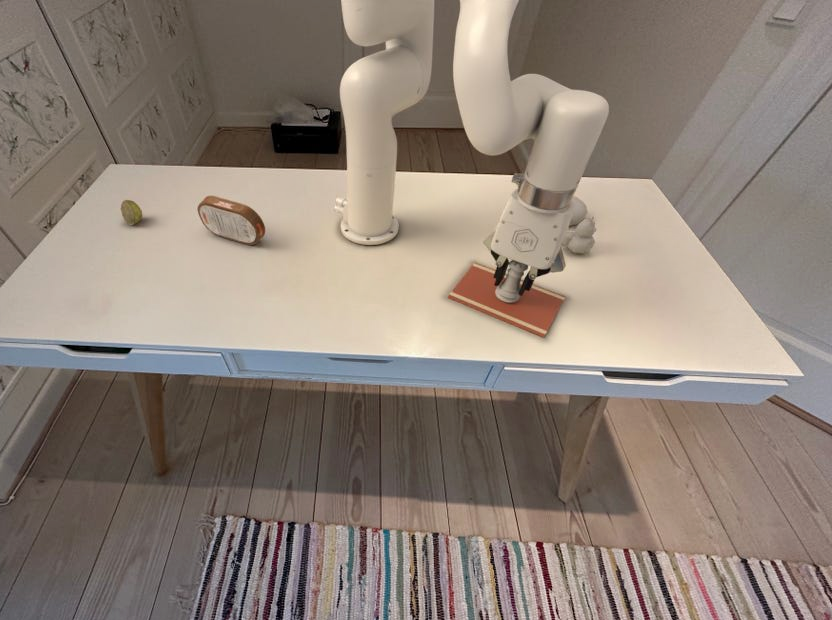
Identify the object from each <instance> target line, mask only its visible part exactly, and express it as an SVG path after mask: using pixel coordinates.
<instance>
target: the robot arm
mask: <svg viewBox="0 0 832 620" xmlns="http://www.w3.org/2000/svg"><path fill="white" fill-rule="evenodd" d="M519 1H520V0H459V13H458V14H459V15H458V19H457V23H456V29H455V37H454V38H455V39H454V50H453V62H452V63H453V65H452V70H453V71H452V77H453V86H454V92H455V97H456V101H457V105H458V106H457V107H458V110H459V115H460V118H461V122H462V125H463V129H464V131H465V134H466V136H467V139H468V140H469V142H470V143H471V145H472V147H473V148H474V149H475V150H476V151H477V152H480V153H481V154H484V155H486V156H498V155H499V156H500V155H502V154H505V153H507V152H508V151H511V150H512V149H513V148H515V147H517V146H518V145H519V144H521V143H522V142H523V141H525V140H530V139H532V140H533V141H534V142H533V145H532V147H531V148H532V149H531V151H530V154H529V157H528V161H527V163H526V167H525V170H524V172H522V173H521V172H520V173H517V172H514V174H513V176H512V178H511V183H513V184H515V185H516V186H517V188H516V189H514V191H513V192H512V193H511V195H510V197H509V198H508V199H507V203H506V205H505V207H504V208H503V211H502V214H501V215H500V218H499V221H498V224H497V226H496V229H495V230H494V231H492V232H491V233H490V234H488V235H487V236H486V237H485V238H484V239H483V240H482V244H483V246H484V247H485V248H486V249H487V250H488V251H489V252H490V254H491V256H492V257H493V259H494V261H495V267H496V268H495V270H496V271H495V274H494V277H493V278H496V281H495V284H494V286H499V284H500V283H501V281H502V280H503V279H504V276H505V274H507V272H508V269H509V268H508V267H509V262H510V260H515V261H518V262H520V263H523V264H526V265H528V267H530V268H529V271H528V272H527V273H526V275H525V276H524V279H523V283H522V286H521V288H520V291H519V293H518V294H519V295H520V296H522V295H523V294H524V292H525V290H527V291H529V290H530V289H531V287H532V285H533V284H534V283H535V280H536V279H537V278H539V277H542V276H545V275H548V274H550V273H552V274H554V273H561V272H564V270H565V268H566V266H567V265H566V261H565V256H564V252H563V248H562V247H563V245H562V244H563V242H564V239H565V236H566V234H567V232H569V231H568V230H569V228H570V226H569V225H570V221H571V218H572V213H573V208H574V203H573V201H572V199H573V196H574V197H575V194H576V192H577V189H578V187H579V184H580V182H581V180H582V177H583V175H584V173H585V170H586V168H587V166H588V163H589V162H590V160H591V156H592V154H593V152H594V149H595V147H596V145H597V143H598V140H599V138H600V136H601V134H602V131H603V128H604V127H605V124H606V122H607V119H608V116H609V113H610V111H609V110H610V105H609V103H608V101H607V99H606V98H604V97H603V95H600V94H597V93H595V92H592V91H589V90H583V89H571V88H569V87H567V86H565V85H562V84H560V83H559V82H557V81H555V80H553V79H551V78H549V77H547V76H544V75H542V74H538V73H526V74H522V75H520V76H518V77H516V78H515V79H513V80H512V79H511V74H510V68H509V58H508V57H509V56H508V45H509V43H508V42H509V34H510V28H511V24H512V19H513V16H514V14H515V11H516V8H517V6H518V3H519ZM340 2H341V4H340V5H341V14H342V21H343V25H344V29H345V32H346V35H347V37H348V38H349V39H350V41H351V42H352V43H353V44H355V45H357V46H359V47H371V46H372V47H373V46H376V45H380V44H383V43H385V49H384V50H380V51H377V52H374V53H372V54H369V55H366V56H364V57H361V58H359V59H358V60H356V61H355V62H353V63H352V64H351V65H350V66H349V67H347V69H346V70H345V71H344V73H343V75H342V77H341V80H340V84H339V101H340V106H341V111H342V115H343V121H344V122H343V123H344V127H345V128H344V129H345V144H346V145H345V147H346V196H347V198H343V197H341V196H338V197H337V198H336V199H335V206H334V207H333V211H334V212H336V213H339V214H341V215H342V216H343V217H342V219H341V221H340V232H341V234H342V235H343V237H345V238H346V239H347V240H349V241H350V242H352V243H355V244H359V245H365V246H376V245H381V244H385V243H387V242H390V241H391V240H393V239H394V238H395V237H396V236H397V234H398V232H399V227H400V226H399V225H400V224H399V221H398V218H397V217H396V216H395V215H393V210H394V199H395V186H396V173H397V159H398V139H397V135H396V132H395V129H394V126H393V117H394V116H395V115H397V114H399V113H400V112H403V111H405V110H407V109H409V108H410V107H413V106H415V105H416V104H417V103H419V102H420V101H421V100H423V98H424V96H425V95H426V94H427V92H428V90H429V86H430V84H431V83H430V82H431V79H432V69H433V50H434V49H433V47H434V28H435V27H434V26H435V25H434V22H435V0H340Z"/></svg>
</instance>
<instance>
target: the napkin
mask: <svg viewBox="0 0 832 620" xmlns="http://www.w3.org/2000/svg"><path fill="white" fill-rule="evenodd" d="M495 271H496V269H493V268H491V267H489V266H486V265H483V264H480V263H477V262H473V263H472V265H471V266H470V268H469V269H468V270H467V271H466V273H465V274H464V275H463V276H462V277H461V279H460V281H459V282H458V283H456V285H455V287H454V288H453V289H452V290H451V291H450V292H449V294H448V295H447V298H448V299H450V300H453V301H455V302H456V303H459V304H462V305H464V306H466V307H469V308H470V309H471V308H472V309H473V310H477V311H479V312H481V313H483V314H486V315H488V316H490V317H492V318H495V319H498V320H500V321H501V322H505V323H507V324H509V325H512V326H514V327H516V328H519V329H521V330H524V331H526V332H528V333H530V334H533V335H536V336H538V337H540V338H542V339H544V338H545V337H546V335H547V333H548V331H549V330H550V327H551V326H552V323H553V321H554V320H555V318H556V316H557V313H558V312H559V310H560V308H561V307H562V305H563V302H564V301H565V299H566V296H565V295H563V294H560V293H557V292H555V291H552V290H550V289H547V288H544V287H542V286H539V285H537V284H534V283H533V285H532V287H531V289H530V290H529V291H527V290H525V292H524V294H523V295H522V296H520V298H519V300H517V301H516V302H513V303H505V302H502V301H501V300H499V299H498V298H497V296H496V293H495V291H496V289H497V287H498V286H494V284H495V281H496V278H493V277H494V274H495ZM507 274H508V273H506V274H505V276H504V279H503V280H502V281H504V280H505V278H506V276H507ZM502 281H501V283H502ZM523 281H524V279H521V281H520V287H521V286H522V283H523Z"/></svg>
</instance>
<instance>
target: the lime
mask: <svg viewBox="0 0 832 620" xmlns="http://www.w3.org/2000/svg"><path fill="white" fill-rule="evenodd" d="M120 211H121V215H122V218H123V220H124V221H125V223H126V224H128V225H130V226H133V225H136V224H138V223H139V222H141V221H142V219H143V217H144V216H143V215H144V214H143V210H142V209H141V207H140V206H139V205H138V203H136V202H135V201H134V200H130V199H124V200H123V201H122V202H121V205H120Z"/></svg>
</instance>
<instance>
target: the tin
mask: <svg viewBox="0 0 832 620" xmlns="http://www.w3.org/2000/svg"><path fill="white" fill-rule="evenodd" d="M197 213H198V216H199V219H200V220H201V223H202V225H204V227H205V228H206V229H207V230H208V231H210V232H211V233H212V234H214V235H216V236H218V237H220V238H224V239H227V240H230V241H234V242H237V243H239V244H240V243H241V244H243V245H247V246H253V245H255V244H257V243H258V242H259V241H260V240H261V239H262V238H264V237H265V235H266V226H265V223H264V220H263V219H262V217H261V215H259V213H258V212H257V211H256V210H255V209H254V208H252V207H251V206H249V205H246V204H244V203H241V202H238V201H233V200H230V199H226V198H223V197H219V196H216V195H207V196H205V197H204V198H203V200H202V201H201V202H200V203H198V205H197Z"/></svg>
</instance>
